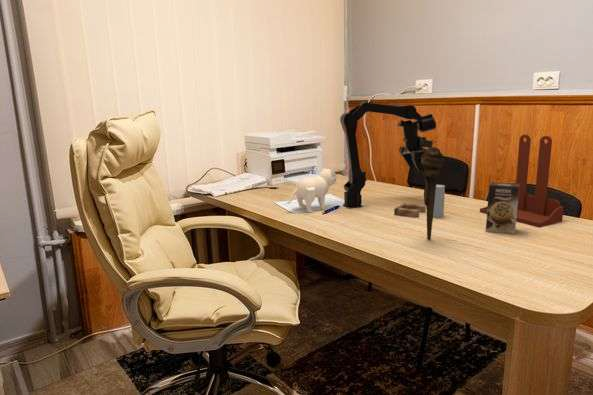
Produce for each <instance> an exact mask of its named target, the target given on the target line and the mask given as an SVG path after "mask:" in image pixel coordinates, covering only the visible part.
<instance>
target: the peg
mask: <svg viewBox="0 0 593 395" xmlns="http://www.w3.org/2000/svg"><path fill="white" fill-rule="evenodd" d="M445 188H446V185H444V184H436V192H435V202H434V211H433V219H434V218H435V219H442V218H443V217H444V213H445Z"/></svg>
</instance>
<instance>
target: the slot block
mask: <svg viewBox="0 0 593 395" xmlns="http://www.w3.org/2000/svg"><path fill="white" fill-rule="evenodd" d="M393 211H394V216H400V217H407V218H415V219H417V218H419V217H420V213H423V214H424V213H425V212H427V209H426V205H425V204H417V203H410V202H409V203H406V202H404V203H401V204H400V205H398V206H397V207H394V208H393Z"/></svg>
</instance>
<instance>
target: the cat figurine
mask: <svg viewBox="0 0 593 395" xmlns="http://www.w3.org/2000/svg"><path fill="white" fill-rule="evenodd" d="M337 179H338V176H337V175H336V172H335V171H334V170H333V169H330V168H325V167H323V168H322V170H321V171H320V172H319V173H318V175H315V176H313V177H310V178H309V177H304V178H302V179H300V180H299V181H298V182H297V183H296V185H295V188H294V190H293V192H292V193H291V195H290V197H289V200H288V201H287V202H285V204H286V205H289V204H291V203H292V201H293V199H294V196H295V195H296V199H297V200H296V201H297V203H298V206H299V208H301V209H306V211H307V213H314V209H312V208H311V207H312V203H313V202H314V201H315V200H316V198H317V201H318V205H319V207H320V209H322V210H327V207H326V204H325V202H326V201H325V199H326V198H325V197H326V195H327V193H328V192H329V188H330V187H331V186H332V185H334V184H336V182H337ZM304 202H305V204H304Z"/></svg>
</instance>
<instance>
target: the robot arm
mask: <svg viewBox="0 0 593 395" xmlns="http://www.w3.org/2000/svg"><path fill="white" fill-rule="evenodd" d="M367 112H369V113H377V114H384V115H386V114H387V115H392V116H395V117H398V118H400V120H399V122H398V123H397V127H400V128H401V127H402V130H403V131H402V132H403V138H402V141H403V142H404V145H402V146H399V148H398V152H399V154H400V155H401V156H402V158H403V159H404V161H405V162H406V164H407V166H408V167H409V169H410V170H413V169H414V166H415V167H416V169H417V172H418V173H420V174H421V173H422V170H421V158H422V155H423V154H424V152H425V151H426V150H427V149H428V148H431V147H433V144H434V140H431V139H430V140H429V139H427V137H425V136H420V135H419V132H420V133H425V132H430V131H434V130H436V129H437V123H436V122H437V121H436V119H435V118H434V116H433V114H432V113H428V114H425V115H421V114H420V113H419V112H418V111H417V108H416V106H414V105H412V104H400V105H391V104H383V103H382V104H381V103H375V102H374V103H373V102H369V101H362V102H360V103H359V104H358V105H356V106H355V107H354V108H352V109H350V111H348V112H344V113H342V114H341V115H340V117H339V122H340V125H341V129H342V130H343V132H344V135H345V142H346V149H347V154H348V155H347V156H348V164H349V172H348V181H347V182H346V183H345V184H344V185H343V189H344V192H343V194H344V195H343V197H344V200H343V201H344V203H342V206H344V207H346V208H348V209H353V208H362V207H363V205H362V201H363V200H362V193H361V192H362V189H364V188H365V186H366V182H367V181H368V180H367V178H366V177H367V176H366V171H365V170H363V169H362V168H361V165H360V157H359V149H358V142H357V130H358V121H359V120H360V119H361V118H362V117H363V116H365V114H366V113H367ZM402 119H404V120H402ZM412 120H414V121H412ZM418 131H419V132H418Z"/></svg>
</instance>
